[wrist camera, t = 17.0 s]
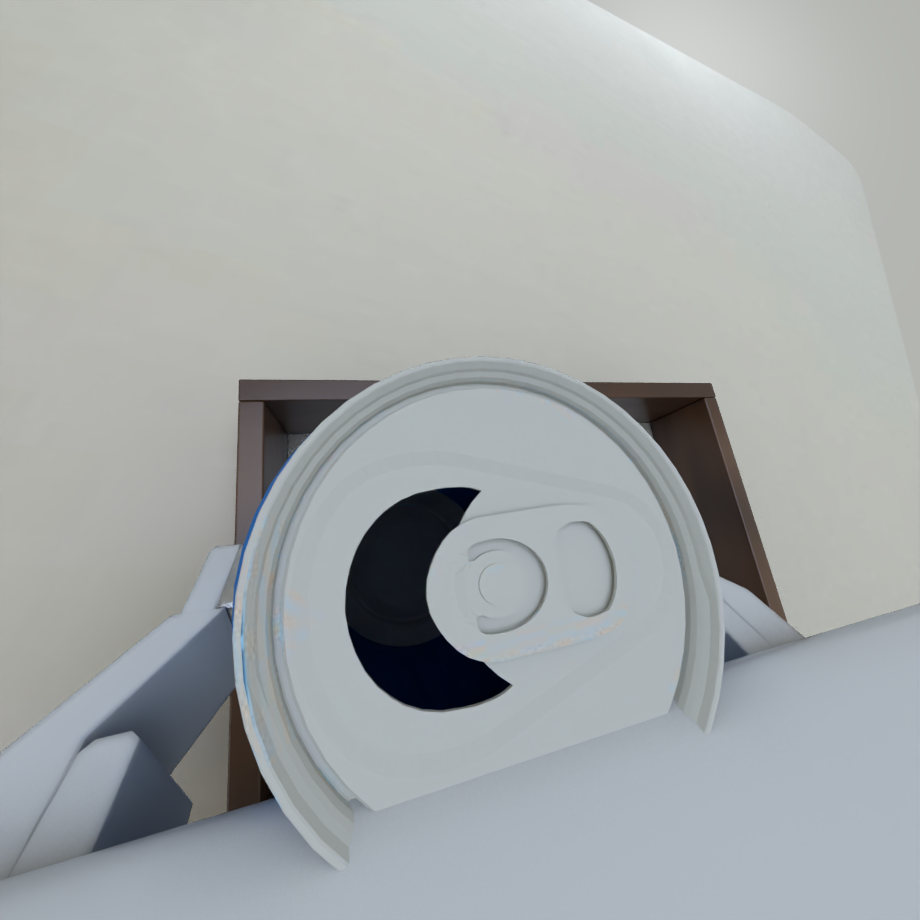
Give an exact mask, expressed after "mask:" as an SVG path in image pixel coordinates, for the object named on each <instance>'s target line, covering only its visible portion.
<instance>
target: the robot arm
mask: <svg viewBox="0 0 920 920" xmlns="http://www.w3.org/2000/svg"><path fill="white" fill-rule="evenodd" d="M243 545H244V544H239V545H228V546H216V547H215V548H214V549H213V550H212V551H211V552H210V553H209V555H208V557H207V559H206V561H205V563H204V566H203V568H202V570H201V572H200V574H199V576H198V578H197V580H196V582H195V584H194V587H193V589H192V591H191V593H190V595H189V597H188V599H187V601H186V603H185V605H184V608H183V610H182V612H181V614H179V615H174V616H170V617H169V618H168V619H166V620H165V621H164V622H163V623H161V624H160V625H159V626H158V627H156V628H155V629H154V630H153V631H151V632H150V633H149V634H148V635H146V636H145V637H144V638H143V639H141V640H140V641H139V642H138V643H136V644H135V645H134V646H133V647H131V648H130V649H129V650H128V651H127V652H125V653H124V654H123V655H122V656H120V657H119V658H118V659H117V660H115V661H114V662H113V663H112V664H110V665H109V666H108V667H107V668H105V669H104V670H103V671H102V672H100V673H99V674H98V675H97V676H95V677H94V678H93V679H92V680H90V681H89V682H88V683H87V684H85V685H84V686H83V687H82V688H80V689H79V690H78V691H77V692H75V693H74V694H73V695H72V696H70V697H69V698H68V699H67V700H66V701H64V702H63V703H62V704H61V705H59V706H58V707H57V708H56V709H54V710H53V711H52V712H51V713H49V714H48V715H47V716H46V717H44V718H43V719H42V720H41V721H39V722H38V723H37V724H36V725H34V726H33V727H32V728H31V729H29V730H28V731H27V732H26V733H24V734H23V735H22V736H21V737H19V738H18V739H17V740H16V741H14V742H13V743H12V744H11V745H9V746H8V747H7V748H6V749H5V750H3V751H2V752H1V753H0V920H920V604H917V605H913V606H910V607H907V608H903V609H900V610H897V611H893V612H890V613H887V614H883V615H880V616H877V617H873V618H870V619H867V620H863V621H860V622H857V623H854V624H850V625H847V626H844V627H840V628H837V629H834V630H830V631H827V632H824V633H820V634H817V635H814V636H810V637H807V638H805V637H803V636H802V635H801V634H800V633H799V632H798V631H796V630H795V629H794V628H793V627H792V626H790V625H789V624H788V623H787V622H786V621H784V620H783V619H782V618H781V617H780V616H779V615H777V614H776V613H775V612H774V611H773V610H771V609H770V608H769V607H768V606H767V605H766V604H764V603H763V602H762V601H761V600H760V599H758V598H757V597H756V596H755V595H754V594H752V593H751V592H750V591H749V590H748V589H746V588H743V587H741V586H739V585H737V584H735V583H733V582H730V581H728V580H726V579H724V578H722V577H720V576H719V579H720V585H721V592H722V598H723V608H724V624H725V648H724V668H723V675H722V682H721V690H720V697H719V701H718V705H717V709H716V713H715V717H714V721H713V726H712V730H711V732H710V733H707V734H706V733H704V732H703V731H702V730H701V728H700V727H699V726H698V725H697V723H696V722H694V721H693V720H692V719H690V718H689V717H688V716H687V715H686V714H685V713H684V712H683V711H682V710H681V709H680V708H679V706H678V705H677V703H676V701H675V699H674V697H673V700H672V703H671V706H670V709H669V711H668V713H667V714H664V715H661V716H658V717H655V718H652V719H649V720H646V721H643V722H640V723H637V724H634V725H631V726H628V727H625V728H622V729H619V730H616V731H613V732H610V733H607V734H604V735H601V736H599V737H596V738H593V739H590V740H587V741H584V742H581V743H578V744H575V745H572V746H569V747H566V748H563V749H560V750H557V751H554V752H551V753H548V754H545V755H542V756H539V757H536V758H533V759H530V760H527V761H524V762H521V763H518V764H515V765H512V766H509V767H506V768H503V769H500V770H497V771H494V772H491V773H488V774H485V775H482V776H480V777H477V778H474V779H471V780H468V781H465V782H462V783H459V784H456V785H453V786H450V787H447V788H444V789H441V790H438V791H435V792H432V793H429V794H426V795H423V796H420V797H417V798H414V799H411V800H408V801H405V802H402V803H399V804H396V805H393V806H390V807H387V808H384V809H382V810H379V811H376V812H375V811H373V810H371V809H369V808H367V807H365V806H364V805H363V804H362V803H361V802H360V801H359V800H358V799H356V798H353V799H351V800H350V801H349V804H350V806H351V808H352V811H353V816H354V828H353V834H352V838H351V841H350V845H349V866H348V867H347V868H345V869H343V870H340V871H339V870H336V869H335V868H334V867H333V866H331V865H330V864H329V863H328V862H327V861H326V860H325V859H323V858H322V857H321V856H320V855H319V854H318V853H316V852H315V851H314V850H313V849H312V848H311V847H310V845H309V844H308V843H307V842H306V840H305V839H304V838H303V837H302V835H301V834H300V833H299V832H298V830H297V829H296V828H295V827H294V826H293V824H292V823H291V822H290V821H289V819H288V818H287V817H286V816H285V814H284V813H283V811H282V809H281V808H280V806H279V804H278V802H277V801H276V799H275V798H272V799H269V800H265V801H262V802H259V803H255V804H252V805H249V806H245V807H242V808H239V809H236V810H232V811H229V812H226V813H222V814H219V815H216V816H212V817H209V818H206V819H202V820H199V821H196V822H192V823H189V824H187V823H188V819H189V816H190V812H191V808H192V805H193V803H192V802H191V800H190V799H189V797H188V796H187V795H186V794H185V792H184V791H183V790H182V789H181V788H180V786H179V785H178V784H177V783H176V782H175V780H174V779H173V778H172V777H171V775H170V774H171V773H172V772H173V770H174V769H175V767H176V766H177V765H178V763H179V762H180V761H181V759H182V758H183V757H184V755H185V754H186V753H187V751H188V750H189V749H190V747H191V746H192V745H193V743H194V742H195V741H196V739H197V738H198V737H199V735H200V734H201V733H202V731H203V730H204V729H205V727H206V726H207V724H208V723H209V722H210V720H211V719H212V718H213V716H214V715H215V714H216V712H217V711H218V710H219V708H220V707H221V706H222V704H223V703H224V702H225V700H226V699H227V698H228V696H229V695H230V694H231V692H232V691H233V690H234V688H235V687H236V686H235V675H234V659H233V644H232V609H233V596H234V584H235V579H236V575H237V570H238V565H239V561H240V556H241V551H242V547H243Z"/></svg>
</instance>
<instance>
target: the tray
mask: <svg viewBox="0 0 920 920" xmlns="http://www.w3.org/2000/svg"><path fill="white" fill-rule="evenodd" d="M377 382H379V381H358V380H239V399H238V400H239V401H240V402H239V410H238V444H237V479H236V513H235V545H239V544H244V542H245V539H246V536H247V534H248V531H249V528H250V525H251V522H252V520H253V517H254V514H255V512H256V510H257V509H258V507H259V505H260V503H261V501H262V499H263V497H264V495H265V493H266V491H267V489H268V487H269V485H270V484H271V482H272V481H273V479H274V478H275V477H276V475H277V474H278V472H279V471H280V469H281V468H282V467H283V465H284V464H285V462H286V461H287V434H296V433H312V432H313V431H314V430H315V429H316V428H317V427H318V426H319V424H320V423H321V422H323V421H324V420H325V419H326V418H327V417H328V416H330V415H331V414H332V413H333V412H334V411H336V410H337V409H338V408H339V407H340V406H342V405H343V404H344V403H345V402H346V401H348V400H349V399H351V398H352V397H354V396H356V395H357V394H359V393H360V392H362V391H363V390H365V389H367V388H368V387H370V386H371V385H373V384H375V383H377ZM583 383H585V384H586V385H588V386H590V387H592V388H593V389H595V390H597V391H598V392H600V393H602V394H603V395H605V396H606V397H607V398H609V399H610V400H611V401H613V402H614V403H615V404H617V405H618V406H619V407H621V408H622V409H623V410H625V411H626V412H627V413H628V414H629V415H630V416H631V417H632V418H633V419H634V420H635V421H637V422H651V427H652V431H653V435H654V439H655V442H656V443H657V444H658V445H659V446H660V447H661V449H662V450H663V451H664V453H665V454H666V456H667V457H668V458H669V460H670V461H671V462H672V464H673V465H674V467H675V468H676V469H677V471H678V473H679V475H680V476H681V478H682V480H683V481H684V483H685V485H686V486H687V488H688V490H689V491H690V494H691V496H692V498H693V500H694V502H695V504H696V506H697V508H698V511H699V513H700V515H701V517H702V520H703V523H704V525H705V528H706V531H707V534H708V536H709V539H710V542H711V545H712V549H713V553H714V557H715V561H716V565H717V569H718V573H719V576H720V577H722V578H724V579H726V580H728V581H730V582H733V583H735V584H737V585H739V586H741V587H743V588H746V589H748V590H749V591H750V592H751V593H752V594H754V595H755V596H756V597H757V598H758V599H760V600H761V601H762V602H763V603H764V604H766V605H767V606H768V607H769V608H770V609H771V610H773V611H774V612H775V613H776V614H777V615H779V616H780V617H781V618H782V619H783V620H784V621H786V622H787V620H786V616H785V613H784V610H783V607H782V604H781V601H780V598H779V595H778V591H777V588H776V585H775V582H774V579H773V576H772V573H771V570H770V566H769V563H768V560H767V557H766V554H765V551H764V548H763V545H762V542H761V538H760V535H759V532H758V529H757V526H756V523H755V520H754V517H753V513H752V510H751V507H750V504H749V501H748V498H747V495H746V492H745V488H744V485H743V482H742V479H741V476H740V473H739V470H738V467H737V463H736V460H735V457H734V454H733V451H732V448H731V445H730V442H729V438H728V435H727V432H726V429H725V426H724V423H723V420H722V417H721V413H720V410H719V407H718V404H717V401H716V399H715V393H714V390H713V387H712V384H711V383H614V382H583ZM272 798H275V797H274V795H273V794H272V792H271V790H270V788H269V786H268V785H267V783H266V781H265V779H264V778H263V776H262V774H261V772H260V769H259V767H258V764H257V761H256V759H255V756H254V753H253V750H252V748H251V745H250V742H249V740H248V737H247V734H246V732H245V729H244V724H243V719H242V715H241V710H240V705H239V700H238V696H237V691H236V687H235V688H234V690H233V691H232V692H231V694H230V719H229V754H228V788H227V812H229V811H232V810H236V809H239V808H242V807H245V806H249V805H252V804H255V803H259V802H262V801H265V800H269V799H272Z"/></svg>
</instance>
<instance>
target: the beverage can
mask: <svg viewBox="0 0 920 920" xmlns="http://www.w3.org/2000/svg"><path fill="white" fill-rule="evenodd" d="M232 644H233V659H234V675H235V686H236V691H237V696H238V700H239V705H240V710H241V715H242V719H243V724H244V729H245V732H246V734H247V737H248V740H249V742H250V745H251V748H252V750H253V753H254V756H255V759H256V761H257V764H258V767H259V769H260V772H261V774H262V776H263V778H264V779H265V781H266V783H267V785H268V786H269V788H270V790H271V792H272V794H273V795H274V797H275V799H276V801H277V802H278V804H279V806H280V808H281V809H282V811H283V813H284V814H285V816H286V817H287V818H288V819H289V821H290V822H291V823H292V824H293V826H294V827H295V828H296V829H297V830H298V832H299V833H300V834H301V835H302V837H303V838H304V839H305V840H306V842H307V843H308V844H309V845H310V847H311V848H312V849H313V850H314V851H315V852H316V853H318V854H319V855H320V856H321V857H322V858H323V859H325V860H326V861H327V862H328V863H329V864H330V865H331V866H333V867H334V868H335V869H336V870H339V871H340V870H343V869H345V868H347V867H348V866H349V845H350V841H351V838H352V834H353V828H354V816H353V811H352V808H351V806H350V804H349V801H350V800H351V799H353V798H356V799H358V800H359V801H360V802H361V803H362V804H363V805H364V806H365V807H367V808H369V809H371V810H373V811H375V812H376V811H379V810H382V809H384V808H387V807H390V806H393V805H396V804H399V803H402V802H405V801H408V800H411V799H414V798H417V797H420V796H423V795H426V794H429V793H432V792H435V791H438V790H441V789H444V788H447V787H450V786H453V785H456V784H459V783H462V782H465V781H468V780H471V779H474V778H477V777H480V776H482V775H485V774H488V773H491V772H494V771H497V770H500V769H503V768H506V767H509V766H512V765H515V764H518V763H521V762H524V761H527V760H530V759H533V758H536V757H539V756H542V755H545V754H548V753H551V752H554V751H557V750H560V749H563V748H566V747H569V746H572V745H575V744H578V743H581V742H584V741H587V740H590V739H593V738H596V737H599V736H601V735H604V734H607V733H610V732H613V731H616V730H619V729H622V728H625V727H628V726H631V725H634V724H637V723H640V722H643V721H646V720H649V719H652V718H655V717H658V716H661V715H664V714H667V713H668V711H669V709H670V706H671V703H672V700H673V697H674V699H675V701H676V703H677V705H678V706H679V708H680V709H681V710H682V711H683V712H684V713H685V714H686V715H687V716H688V717H689V718H690V719H692V720H693V721H694V722H696V723H697V725H698V726H699V727H700V728H701V730H702V731H703V732H704V733H706V734H707V733H710V732H711V730H712V726H713V721H714V717H715V713H716V709H717V705H718V701H719V697H720V690H721V682H722V675H723V668H724V648H725V624H724V608H723V598H722V592H721V585H720V579H719V573H718V569H717V565H716V561H715V557H714V553H713V549H712V545H711V542H710V539H709V536H708V534H707V531H706V528H705V525H704V523H703V520H702V517H701V515H700V513H699V511H698V508H697V506H696V504H695V502H694V500H693V498H692V496H691V494H690V491H689V490H688V488H687V486H686V485H685V483H684V481H683V480H682V478H681V476H680V475H679V473H678V471H677V469H676V468H675V467H674V465H673V464H672V462H671V461H670V460H669V458H668V457H667V456H666V454H665V453H664V451H663V450H662V449H661V447H660V446H659V445H658V444H657V443H656V442H655V440H654V439H653V438H652V437H651V436H650V435H649V434H648V433H647V431H646V430H645V429H644V428H643V427H642V426H641V425H640V424H639V423H638V422H637V421H635V420H634V419H633V418H632V417H631V416H630V415H629V414H628V413H627V412H626V411H625V410H623V409H622V408H621V407H619V406H618V405H617V404H615V403H614V402H613V401H611V400H610V399H609V398H607V397H606V396H605V395H603V394H602V393H600V392H598V391H597V390H595V389H593V388H592V387H590V386H588V385H586V384H585V383H583V382H581V381H579V380H577V379H575V378H572V377H570V376H568V375H566V374H564V373H561V372H559V371H556V370H553V369H550V368H547V367H544V366H541V365H538V364H535V363H530V362H525V361H520V360H515V359H510V358H497V357H483V356H481V357H462V358H452V359H446V360H441V361H435V362H429V363H426V364H423V365H419V366H416V367H413V368H410V369H407V370H404V371H401V372H398V373H396V374H394V375H392V376H390V377H388V378H386V379H383V380H381V381H379V382H377V383H375V384H373V385H371V386H370V387H368V388H367V389H365V390H363V391H362V392H360V393H359V394H357V395H356V396H354V397H352V398H351V399H349V400H348V401H346V402H345V403H344V404H343V405H342V406H340V407H339V408H338V409H337V410H336V411H334V412H333V413H332V414H331V415H330V416H328V417H327V418H326V419H325V420H324V421H323V422H321V423H320V424H319V426H318V427H317V428H316V429H315V430H314V431H313V432H312V433H311V434H310V435H309V436H308V437H307V438H306V439H305V440H304V441H303V442H302V444H301V445H300V446H299V447H298V448H297V449H296V450H295V451H294V452H293V453H292V455H291V456H290V457H289V458H288V459H287V461H286V462H285V464H284V465H283V467H282V468H281V469H280V471H279V472H278V474H277V475H276V477H275V478H274V479H273V481H272V482H271V484H270V485H269V487H268V489H267V491H266V493H265V495H264V497H263V499H262V501H261V503H260V505H259V507H258V509H257V510H256V512H255V514H254V517H253V520H252V522H251V525H250V528H249V531H248V534H247V536H246V539H245V542H244V545H243V547H242V551H241V556H240V561H239V565H238V570H237V575H236V579H235V584H234V596H233V609H232Z"/></svg>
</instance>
